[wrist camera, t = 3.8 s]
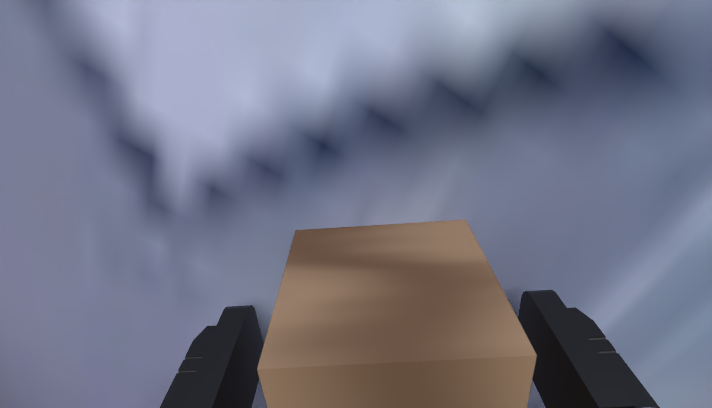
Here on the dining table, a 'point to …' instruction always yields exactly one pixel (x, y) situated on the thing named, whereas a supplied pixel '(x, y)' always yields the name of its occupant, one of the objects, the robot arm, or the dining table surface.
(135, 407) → the dining table surface
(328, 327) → the walnut cube
